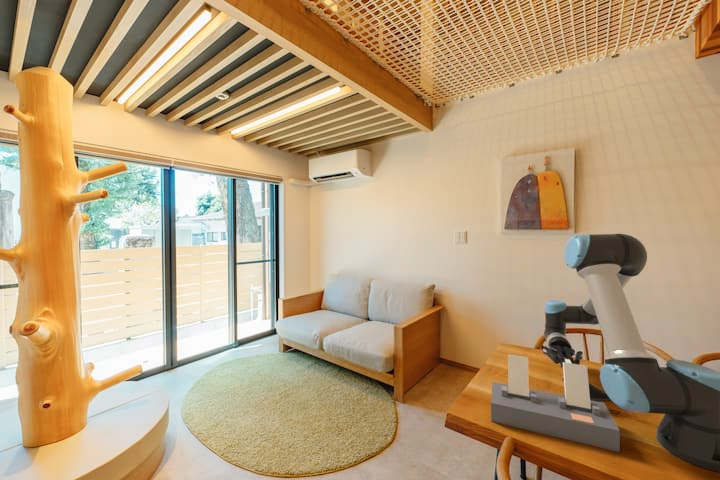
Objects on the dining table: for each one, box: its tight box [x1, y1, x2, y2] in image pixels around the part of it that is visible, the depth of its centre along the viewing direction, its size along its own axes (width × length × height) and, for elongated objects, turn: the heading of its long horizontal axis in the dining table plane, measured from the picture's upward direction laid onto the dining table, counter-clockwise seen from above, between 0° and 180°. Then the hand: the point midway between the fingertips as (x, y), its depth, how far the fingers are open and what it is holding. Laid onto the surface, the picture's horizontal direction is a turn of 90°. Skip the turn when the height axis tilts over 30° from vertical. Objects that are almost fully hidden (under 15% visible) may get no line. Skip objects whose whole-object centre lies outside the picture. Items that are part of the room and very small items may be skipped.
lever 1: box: [507, 353, 530, 397], centre depth 99 cm, size 2×6×12 cm, turn 65°
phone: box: [562, 377, 613, 402], centre depth 111 cm, size 8×1×15 cm
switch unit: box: [490, 381, 621, 453], centre depth 94 cm, size 14×32×8 cm, turn 64°
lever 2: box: [562, 362, 591, 409], centre depth 93 cm, size 2×6×12 cm, turn 65°
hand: (571, 371), depth 99 cm, fingers closed
